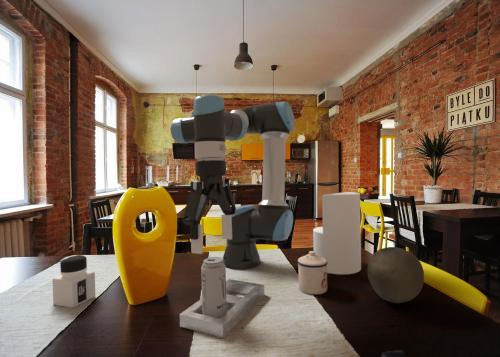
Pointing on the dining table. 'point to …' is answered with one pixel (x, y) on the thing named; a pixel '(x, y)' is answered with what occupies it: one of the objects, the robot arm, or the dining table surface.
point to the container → (73, 282)
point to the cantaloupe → (395, 274)
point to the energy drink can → (213, 287)
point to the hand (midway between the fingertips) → (213, 245)
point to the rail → (235, 309)
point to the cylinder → (340, 233)
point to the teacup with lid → (312, 273)
